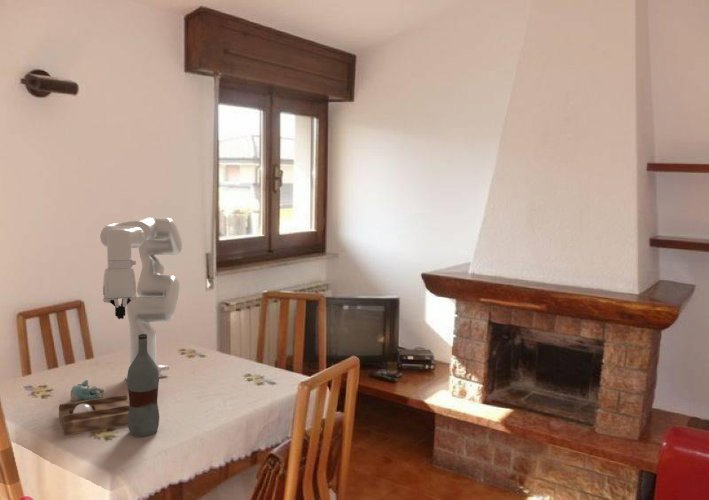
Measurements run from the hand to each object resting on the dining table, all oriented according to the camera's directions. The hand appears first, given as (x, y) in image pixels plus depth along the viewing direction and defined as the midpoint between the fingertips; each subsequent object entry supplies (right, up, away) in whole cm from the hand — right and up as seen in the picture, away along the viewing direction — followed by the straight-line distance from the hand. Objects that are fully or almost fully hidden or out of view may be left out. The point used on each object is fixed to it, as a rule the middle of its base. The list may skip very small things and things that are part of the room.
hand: (120, 318), depth 202 cm
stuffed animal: (-13, -29, +4) cm, 32 cm away
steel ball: (-5, -28, -17) cm, 33 cm away
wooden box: (-2, -31, -14) cm, 34 cm away
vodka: (+16, -32, -22) cm, 42 cm away
